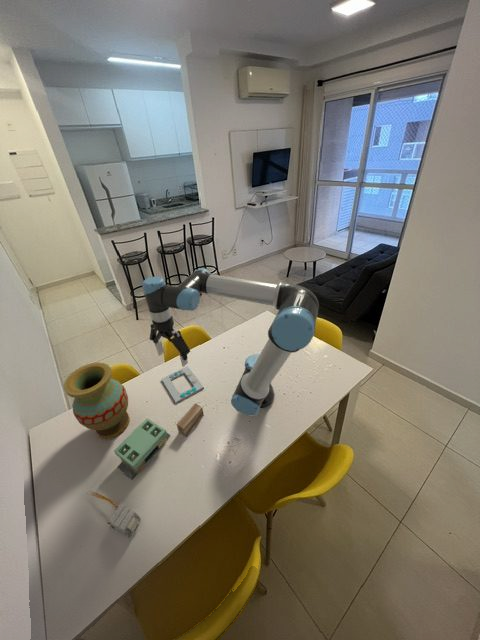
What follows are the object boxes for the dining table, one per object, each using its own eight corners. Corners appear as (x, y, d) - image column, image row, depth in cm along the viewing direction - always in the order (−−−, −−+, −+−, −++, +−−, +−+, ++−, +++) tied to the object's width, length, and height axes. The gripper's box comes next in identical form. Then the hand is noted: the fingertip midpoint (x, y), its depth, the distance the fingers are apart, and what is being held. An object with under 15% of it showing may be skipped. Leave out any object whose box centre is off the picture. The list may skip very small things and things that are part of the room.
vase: (145, 411, 119) (126, 364, 102) (115, 452, 104) (87, 405, 86) (111, 401, 125) (88, 355, 107) (78, 438, 109) (44, 391, 92)
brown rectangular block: (203, 415, 116) (202, 407, 112) (185, 437, 108) (183, 428, 104) (197, 411, 118) (195, 403, 114) (178, 432, 110) (176, 424, 106)
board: (167, 434, 103) (165, 430, 102) (135, 470, 92) (133, 466, 91) (148, 421, 108) (146, 418, 107) (115, 454, 97) (113, 450, 96)
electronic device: (161, 378, 133) (187, 365, 140) (162, 381, 135) (188, 368, 142) (175, 401, 121) (203, 386, 128) (176, 404, 122) (204, 389, 129)
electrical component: (83, 512, 90) (75, 505, 87) (96, 494, 94) (89, 487, 92) (132, 539, 79) (124, 532, 77) (144, 518, 84) (138, 510, 81)
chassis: (171, 436, 108) (167, 425, 104) (132, 480, 94) (126, 470, 90) (156, 426, 112) (152, 415, 108) (117, 467, 99) (110, 456, 94)
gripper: (194, 321, 93) (201, 363, 105) (146, 304, 104) (158, 344, 116) (179, 332, 88) (189, 375, 100) (131, 313, 99) (145, 354, 111)
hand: (172, 359), depth 108 cm, fingers open, 13 cm apart
